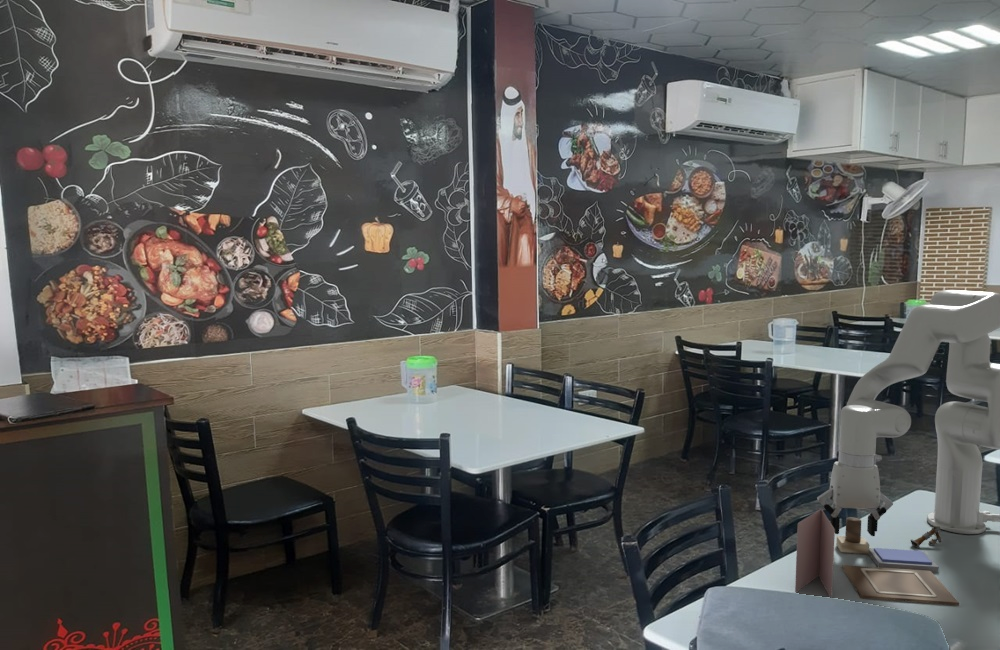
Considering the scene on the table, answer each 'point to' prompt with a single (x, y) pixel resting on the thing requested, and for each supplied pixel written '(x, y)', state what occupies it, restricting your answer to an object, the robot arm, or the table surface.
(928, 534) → the wooden post with brackets
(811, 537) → the greeting card
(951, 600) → the marked board
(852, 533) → the stamp
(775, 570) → the table surface
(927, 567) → the ink pad
